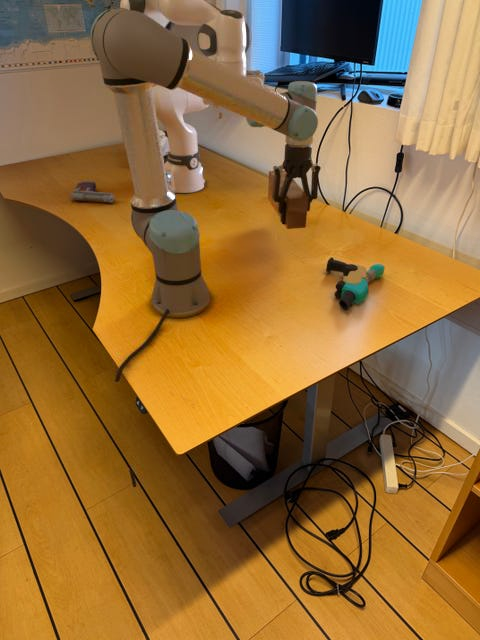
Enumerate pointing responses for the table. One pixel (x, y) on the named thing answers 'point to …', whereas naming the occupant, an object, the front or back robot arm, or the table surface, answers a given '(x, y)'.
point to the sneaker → (164, 142)
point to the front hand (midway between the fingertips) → (293, 221)
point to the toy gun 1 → (90, 193)
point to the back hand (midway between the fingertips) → (233, 117)
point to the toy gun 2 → (353, 281)
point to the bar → (290, 202)
